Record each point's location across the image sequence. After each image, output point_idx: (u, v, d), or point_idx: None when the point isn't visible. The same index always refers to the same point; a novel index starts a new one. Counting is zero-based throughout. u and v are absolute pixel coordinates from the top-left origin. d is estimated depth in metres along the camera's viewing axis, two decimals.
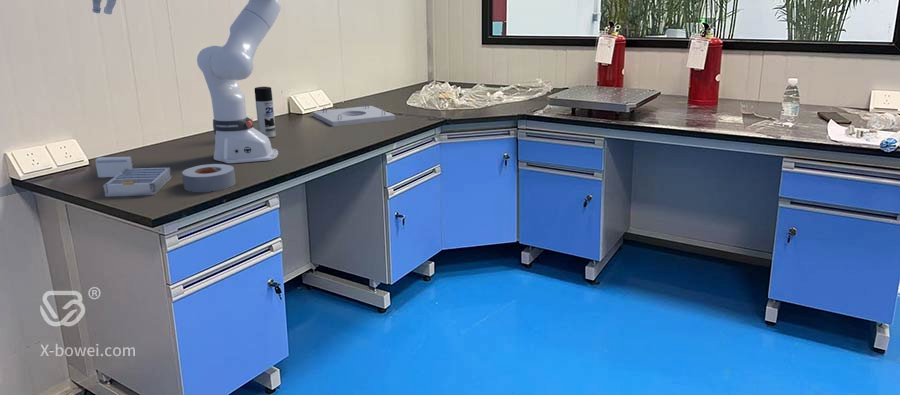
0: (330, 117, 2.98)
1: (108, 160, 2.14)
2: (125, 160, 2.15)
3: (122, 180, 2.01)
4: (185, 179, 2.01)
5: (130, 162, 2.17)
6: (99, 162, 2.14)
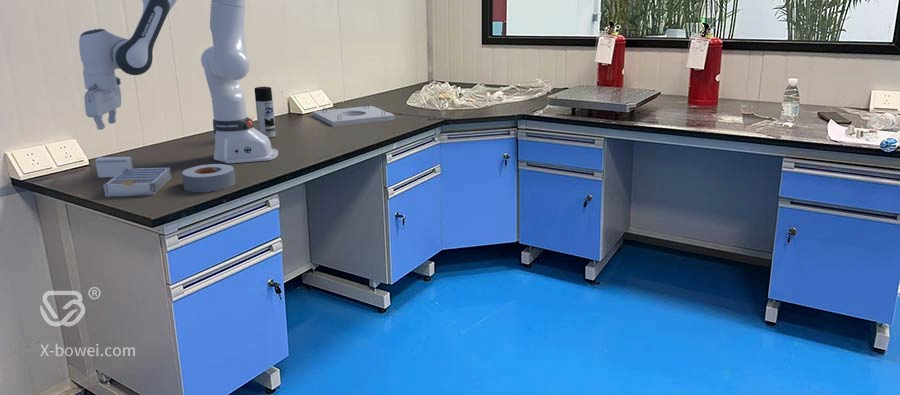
0: (330, 117, 2.98)
1: (108, 160, 2.14)
2: (125, 160, 2.15)
3: (122, 180, 2.01)
4: (185, 179, 2.01)
5: (130, 162, 2.17)
6: (99, 162, 2.14)
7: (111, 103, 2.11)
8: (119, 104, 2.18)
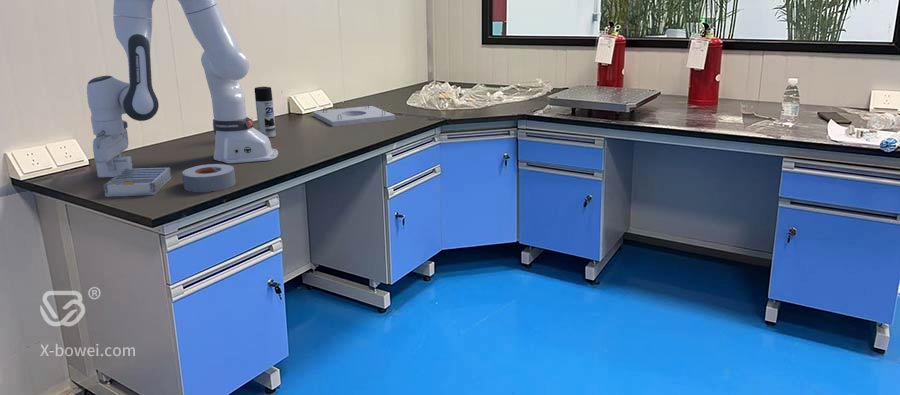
0: (330, 117, 2.98)
1: None
2: (125, 160, 2.15)
3: (122, 180, 2.01)
4: (185, 179, 2.01)
5: (130, 162, 2.17)
6: None
7: (118, 147, 2.16)
8: (126, 146, 2.23)
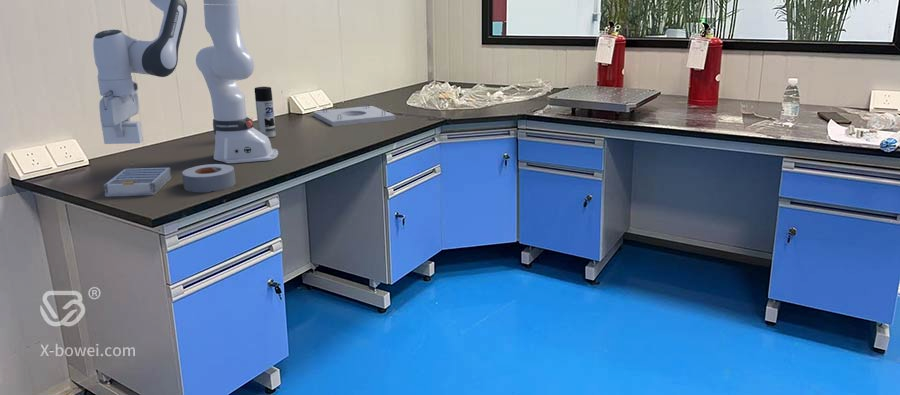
0: (330, 117, 2.98)
1: None
2: (134, 124, 1.93)
3: (122, 180, 2.01)
4: (185, 179, 2.01)
5: (140, 127, 1.96)
6: (106, 126, 1.93)
7: (127, 111, 1.95)
8: (136, 111, 2.01)
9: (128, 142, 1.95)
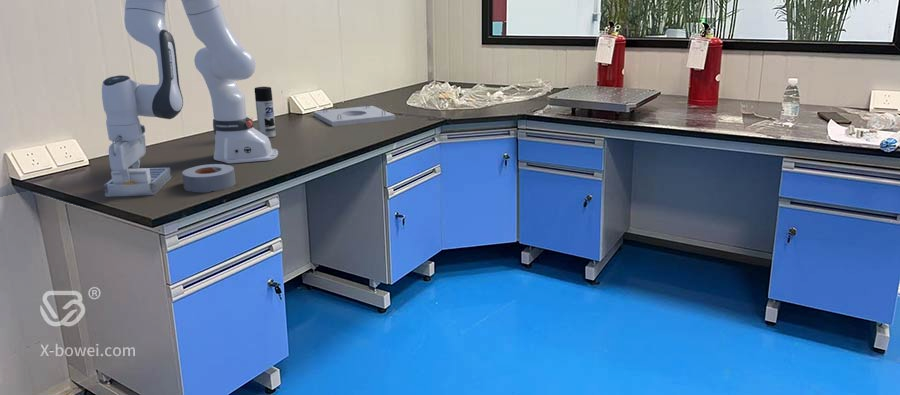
0: (330, 117, 2.98)
1: None
2: (143, 172, 1.97)
3: None
4: (185, 179, 2.01)
5: (149, 174, 2.00)
6: (115, 174, 1.97)
7: (136, 154, 1.98)
8: (144, 152, 2.05)
9: None
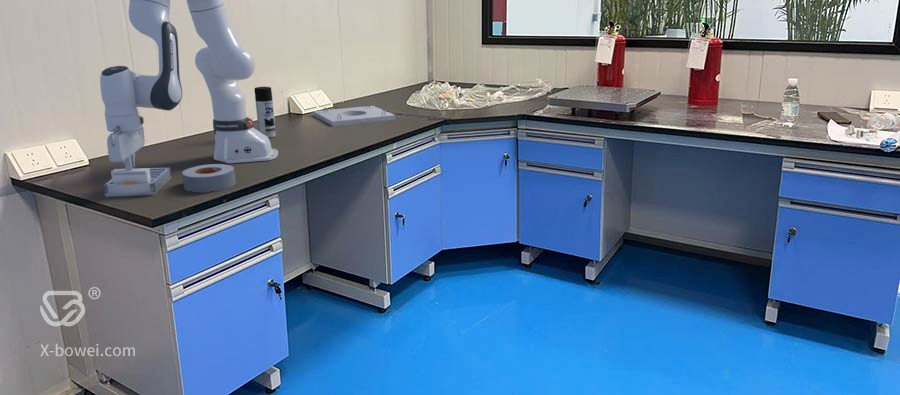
0: (330, 117, 2.98)
1: (125, 172, 1.97)
2: (143, 172, 1.97)
3: None
4: (185, 179, 2.01)
5: (149, 174, 2.00)
6: (115, 174, 1.97)
7: (134, 145, 1.97)
8: (142, 144, 2.04)
9: None
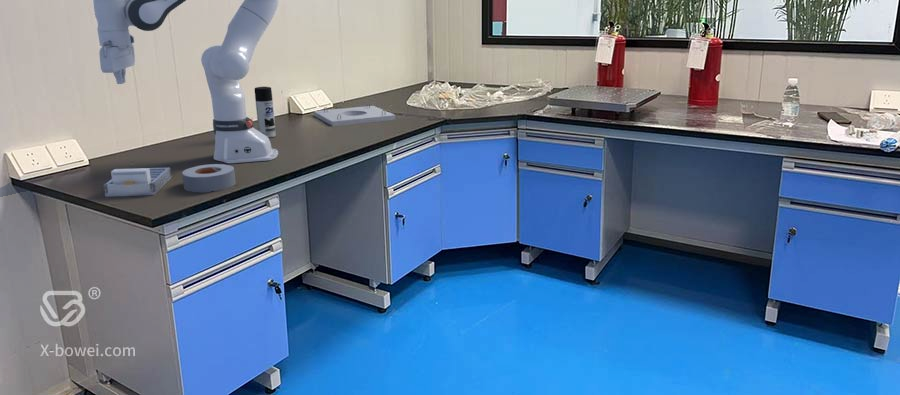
0: (330, 117, 2.99)
1: (125, 172, 1.97)
2: (143, 172, 1.97)
3: None
4: (185, 179, 2.01)
5: (149, 174, 2.00)
6: (115, 174, 1.97)
7: (125, 61, 2.14)
8: (133, 63, 2.20)
9: None
